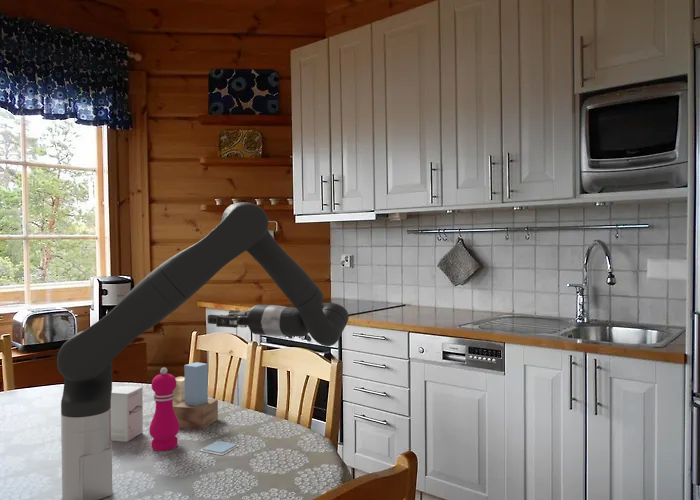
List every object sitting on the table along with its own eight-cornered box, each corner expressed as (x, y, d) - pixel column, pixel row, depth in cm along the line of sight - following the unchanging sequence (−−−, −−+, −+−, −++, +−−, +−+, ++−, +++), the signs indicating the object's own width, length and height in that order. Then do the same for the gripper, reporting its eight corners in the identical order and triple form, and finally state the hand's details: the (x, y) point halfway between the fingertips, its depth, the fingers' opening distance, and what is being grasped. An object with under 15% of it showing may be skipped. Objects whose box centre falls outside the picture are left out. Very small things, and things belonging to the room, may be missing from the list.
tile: (239, 446, 142) (239, 444, 142) (222, 455, 136) (222, 453, 136) (217, 442, 145) (217, 440, 145) (200, 451, 139) (200, 448, 139)
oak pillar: (192, 414, 169) (191, 377, 168) (181, 418, 165) (181, 381, 164) (180, 412, 171) (180, 376, 170) (169, 416, 167) (169, 379, 166)
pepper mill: (143, 448, 141) (142, 369, 141) (165, 439, 147) (164, 363, 147) (164, 453, 137) (163, 372, 137) (185, 444, 144) (184, 366, 144)
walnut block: (217, 420, 164) (217, 399, 164) (203, 430, 155) (202, 408, 155) (189, 418, 166) (189, 397, 166) (173, 427, 157) (173, 406, 157)
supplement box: (128, 442, 145) (127, 393, 145) (102, 440, 147) (101, 392, 147) (144, 432, 153) (143, 386, 152) (119, 431, 154) (118, 385, 154)
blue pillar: (207, 402, 161) (207, 363, 161) (195, 406, 157) (195, 366, 157) (196, 399, 164) (196, 362, 163) (184, 403, 160) (184, 365, 160)
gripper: (286, 302, 147) (235, 299, 154) (254, 308, 134) (200, 305, 141) (286, 331, 147) (235, 327, 154) (254, 339, 134) (201, 335, 141)
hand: (219, 316), depth 147 cm, fingers open, 8 cm apart
